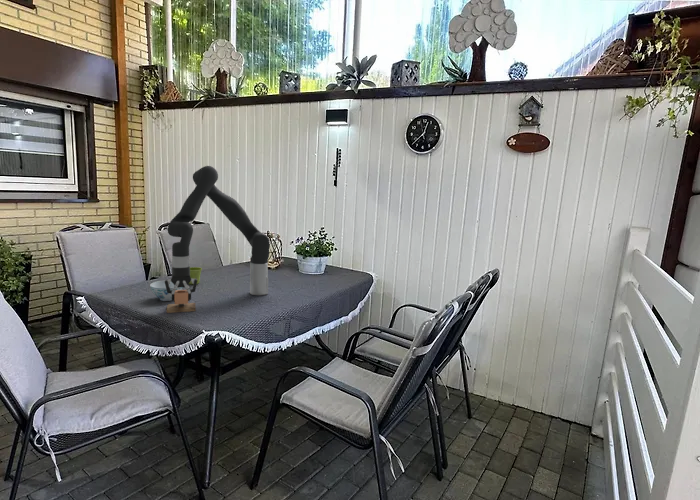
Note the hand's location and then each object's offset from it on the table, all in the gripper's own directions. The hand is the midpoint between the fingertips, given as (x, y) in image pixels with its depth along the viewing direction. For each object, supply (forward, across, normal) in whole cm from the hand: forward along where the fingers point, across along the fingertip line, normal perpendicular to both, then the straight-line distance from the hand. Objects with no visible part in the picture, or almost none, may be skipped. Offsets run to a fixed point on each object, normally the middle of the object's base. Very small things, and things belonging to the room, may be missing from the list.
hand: (181, 301), depth 177 cm
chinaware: (+4, +7, -18) cm, 20 cm away
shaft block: (+4, 0, 0) cm, 4 cm away
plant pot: (+4, -5, -47) cm, 47 cm away
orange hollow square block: (0, 0, 0) cm, 0 cm away
